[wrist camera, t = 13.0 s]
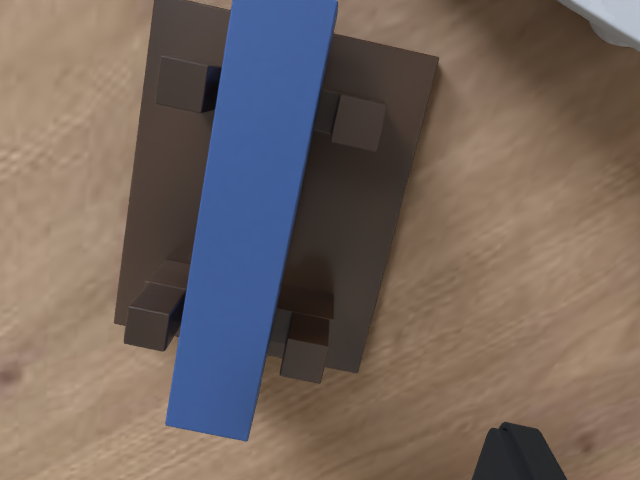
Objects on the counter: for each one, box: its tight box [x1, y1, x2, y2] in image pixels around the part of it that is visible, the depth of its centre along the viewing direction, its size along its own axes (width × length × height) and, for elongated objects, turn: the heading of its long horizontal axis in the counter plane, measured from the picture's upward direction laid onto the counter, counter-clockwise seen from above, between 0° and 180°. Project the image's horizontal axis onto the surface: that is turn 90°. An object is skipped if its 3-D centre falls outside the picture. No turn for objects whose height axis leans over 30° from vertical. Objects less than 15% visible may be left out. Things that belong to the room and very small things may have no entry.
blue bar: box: [165, 0, 338, 441], centre depth 21 cm, size 3×16×3 cm, turn 168°
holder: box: [114, 0, 439, 384], centre depth 23 cm, size 12×15×7 cm
